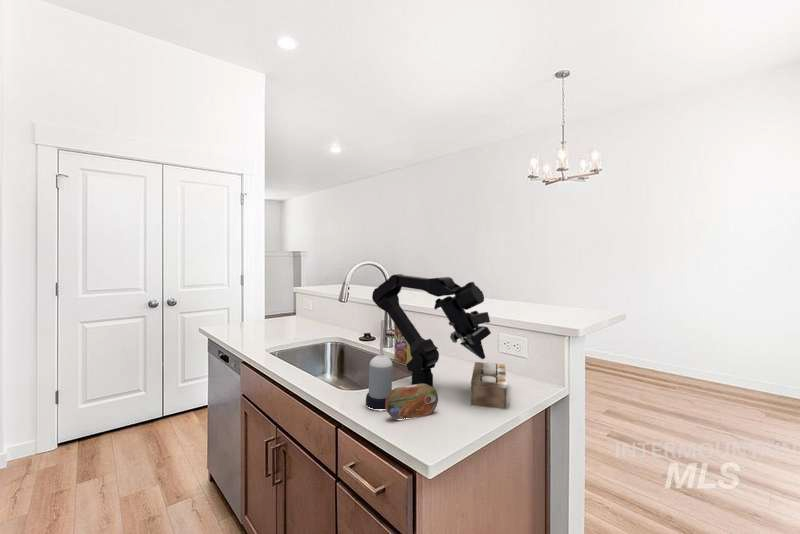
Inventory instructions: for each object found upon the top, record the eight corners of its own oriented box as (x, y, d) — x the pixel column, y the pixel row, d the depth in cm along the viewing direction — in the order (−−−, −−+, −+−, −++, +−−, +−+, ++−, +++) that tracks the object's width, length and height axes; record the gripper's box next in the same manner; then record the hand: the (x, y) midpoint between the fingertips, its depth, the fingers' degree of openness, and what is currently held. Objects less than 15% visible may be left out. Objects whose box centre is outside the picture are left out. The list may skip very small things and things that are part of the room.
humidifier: (386, 396, 115) (388, 316, 113) (398, 408, 108) (401, 322, 106) (361, 401, 111) (363, 318, 109) (372, 413, 104) (375, 324, 102)
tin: (388, 423, 98) (388, 391, 98) (383, 418, 101) (383, 387, 101) (438, 413, 104) (438, 383, 104) (433, 409, 107) (433, 380, 107)
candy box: (393, 359, 156) (393, 322, 155) (401, 357, 159) (402, 321, 158) (406, 364, 149) (406, 326, 148) (414, 362, 151) (415, 325, 151)
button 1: (481, 394, 111) (481, 379, 110) (482, 389, 115) (482, 375, 114) (495, 396, 110) (495, 380, 110) (495, 391, 114) (495, 376, 113)
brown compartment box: (470, 405, 110) (471, 380, 110) (474, 382, 129) (475, 361, 129) (506, 408, 108) (506, 384, 107) (504, 384, 127) (505, 363, 127)
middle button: (482, 380, 117) (482, 365, 117) (483, 375, 121) (483, 362, 121) (495, 381, 116) (496, 366, 116) (495, 377, 120) (496, 363, 120)
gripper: (489, 298, 108) (518, 345, 108) (465, 302, 126) (490, 342, 126) (459, 319, 105) (489, 367, 105) (439, 320, 124) (464, 361, 123)
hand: (483, 358), depth 115 cm, fingers closed
